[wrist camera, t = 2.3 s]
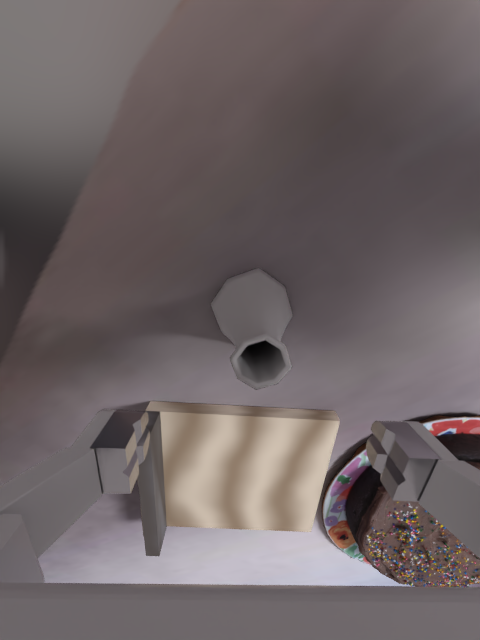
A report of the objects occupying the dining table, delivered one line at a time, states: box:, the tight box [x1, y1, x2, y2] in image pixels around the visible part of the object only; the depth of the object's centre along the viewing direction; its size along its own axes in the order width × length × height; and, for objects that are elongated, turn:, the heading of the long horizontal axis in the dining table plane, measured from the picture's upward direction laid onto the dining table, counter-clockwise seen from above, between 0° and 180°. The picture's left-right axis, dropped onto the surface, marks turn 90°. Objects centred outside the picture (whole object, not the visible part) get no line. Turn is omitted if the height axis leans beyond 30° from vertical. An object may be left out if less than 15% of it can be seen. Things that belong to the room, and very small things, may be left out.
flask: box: [211, 268, 293, 390], centre depth 17 cm, size 7×7×10 cm
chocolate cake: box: [322, 415, 480, 587], centre depth 28 cm, size 28×28×7 cm
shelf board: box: [137, 401, 340, 556], centre depth 27 cm, size 20×18×4 cm
